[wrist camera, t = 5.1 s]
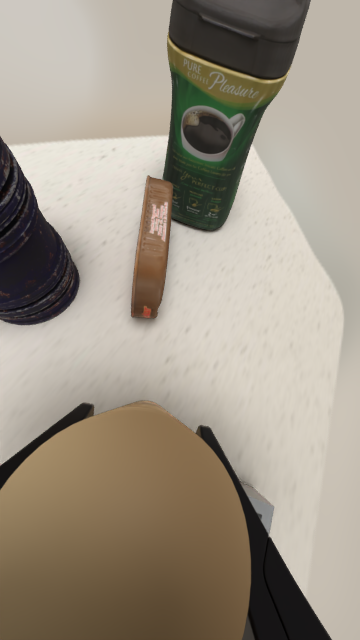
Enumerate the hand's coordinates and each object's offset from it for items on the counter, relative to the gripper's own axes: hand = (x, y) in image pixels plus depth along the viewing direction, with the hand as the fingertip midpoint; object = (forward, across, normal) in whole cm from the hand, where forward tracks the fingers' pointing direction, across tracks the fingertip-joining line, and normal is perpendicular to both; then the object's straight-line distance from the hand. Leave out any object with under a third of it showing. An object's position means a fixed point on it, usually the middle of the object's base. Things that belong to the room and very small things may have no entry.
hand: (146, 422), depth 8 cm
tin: (+20, +3, -1) cm, 21 cm away
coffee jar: (+28, 0, -10) cm, 30 cm away
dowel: (+4, 0, +6) cm, 7 cm away
